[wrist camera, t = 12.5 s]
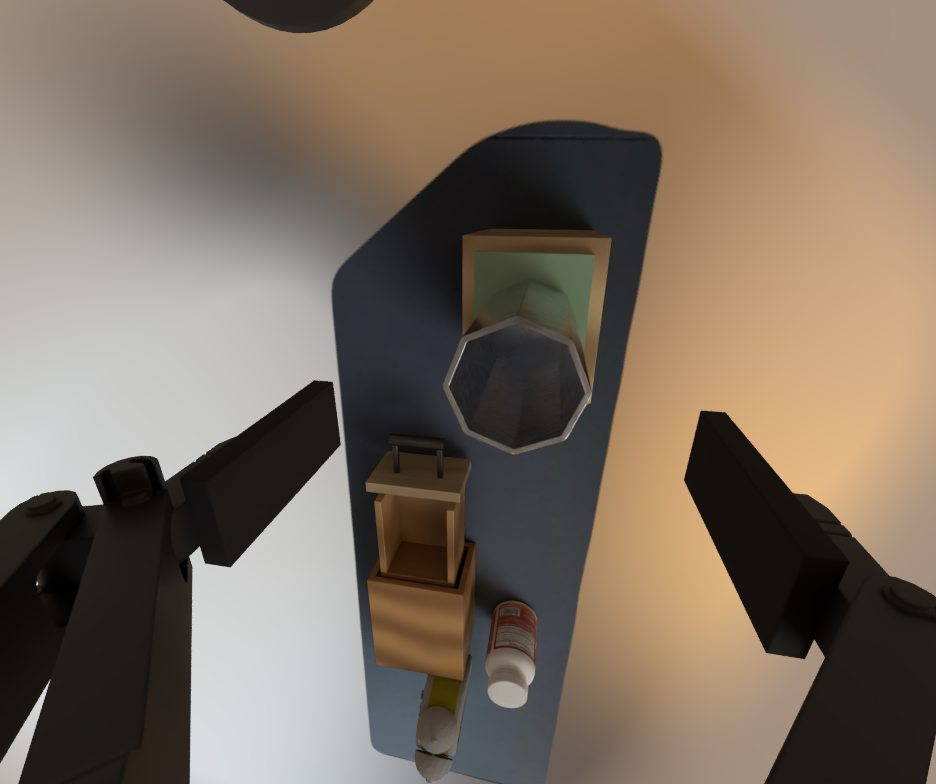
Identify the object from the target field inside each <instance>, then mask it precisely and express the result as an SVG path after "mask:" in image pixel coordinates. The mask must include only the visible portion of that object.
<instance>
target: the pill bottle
mask: <svg viewBox="0 0 936 784" xmlns="http://www.w3.org/2000/svg"><path fill="white" fill-rule="evenodd" d="M536 634H537V618H536V615H535V613H534V611H533V610H532V609H531V608H530V607H529V606H528V605H526V604H524V603H522V602H518V601H505V602H502V603H500V604H499V605H498V606H497V607H496V608H495V609H494V612H493V616H492V623H491V630H490V636H489V643H488V649H487V656H486V664H485V667H486V672H487V675H488V677H489V681H488V695H489V697H490V699H491V700H492V701H493V702H495V703H496V704H498V705H500V706H502V707H506V708H517V707H520V706H522V705H524V704H525V702H526V701H527V695H528V685H529V684H530V683H531V682H532V680H533V678H534V675H535V660H536Z"/></svg>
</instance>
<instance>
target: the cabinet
mask: <svg viewBox="0 0 936 784" xmlns="http://www.w3.org/2000/svg"><path fill="white" fill-rule="evenodd" d="M475 561H476V543H471V542H464V553H463V557H462V561H461V564H460V568H459V572H458V576H457V579H456V583H455V587H454V588H451V587H445V586H439V585H432V584H426V583H419V582H413V581H406V580H400V579H394V578H387V577H381V569H380V558H378V560H377V562H376V564H375V566H374V568H373V570H372V572H371V574H370V576H369V578H368V580H367V583H368V593H369V602H370V611H371V620H372V629H373V639H374V648H375V657H376V664H378V665H383V666H388V667H394V668H399V669H404V670H409V671H414V672H420V673H425V674H430V675H435V676H441V677H446V678H451V679H456V680H462V681H463V678H464V673H465V668H466V663H467V658H468V653H469V647H470V642H471V637H472V632H473V627H474V615H475Z"/></svg>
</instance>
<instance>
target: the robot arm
mask: <svg viewBox="0 0 936 784" xmlns="http://www.w3.org/2000/svg"><path fill="white" fill-rule="evenodd" d="M340 445H341V443H340V435H339V427H338V420H337V412H336V403H335V396H334V388H333V382H328V381H315V380H314V381H313V382H311V383H310V384H309V385H307V386H306V387H305V388H303V389H302V390H300V391H299V392H298V393H296V394H295V395H293V396H292V397H291V398H289V399H288V400H286V401H285V402H284V403H282V404H281V405H280V406H278V407H277V408H275V409H274V410H273V411H271V412H270V413H268V414H267V415H266V416H264V417H263V418H261V419H260V420H259V421H258V422H256V423H255V424H253V425H252V426H250V427H249V428H248V429H246V430H245V431H243V432H242V433H241V434H239V435H238V436H237V437H234V438H231V439H229V440H227V441H224V442H222V443H219V444H218V445H216V446H215V447H214V448H212V449H211V450H209V451H208V452H207V453H206V455H202V456H201V457H199V458H198V459H197V460H196V462H192V463H191V464H189V465H188V466H187V467H185V468H184V469H182V470H181V471H180V472H178V473H177V474H175V475H174V476H172V477H171V478H170V479H168V480H167V481H165V480H164V477H163V474H162V471H161V467H160V464H159V462H158V459H157V458H155V457H151V456H137V457H130V458H127V459H123V460H120V461H117V462H114V463H112V464H110V465H107V466H106V467H104V468H103V469H101V470H99V471H98V472H97V473H96V474H95V476H94V477H93V479H94V481H95V483H96V486H97V489H98V491H99V494H100V496H101V498H102V501H103V504H104V505H93V506H82V505H81V502H80V500H79V498H78V496H77V494H76V492H73V491H68V490H65V491H55V492H50V493H49V492H47V493H43V494H40V495H39V496H38V495H37V496H34V497H32V498H30V499H29V500H27V501H25V502H23V503H21V504H19V505H18V506H16V507H15V508H14V509H12V510H11V511H10V512H8V513H7V515H5V516H4V517H3V518H2V519H1V520H0V763H1V761H2V760H3V758H4V756H5V754H6V753H7V751H8V749H9V748H10V746H11V744H12V742H13V741H14V739H15V738H16V736H17V734H18V733H19V731H20V729H21V728H22V726H23V724H24V722H25V721H26V719H27V717H28V716H29V714H30V712H31V711H32V709H33V707H34V706H35V704H36V702H37V701H38V698H39V697H40V695H41V694H42V692H43V690H44V689H45V687H46V685H47V684H48V682H49V680H50V679H51V680H50V683H49V686H48V689H47V693H46V696H45V699H44V703H43V706H42V709H41V712H40V716H39V719H38V722H37V725H36V729H35V732H34V735H33V738H32V741H31V745H30V748H29V751H28V754H27V758H26V761H25V764H24V767H23V770H22V774H21V777H20V780H19V783H18V784H190V714H191V712H190V711H191V636H192V630H191V629H192V564H191V561H190V558H189V556H190V555H191V554H192V553H193V552H194V551H195V550H196V549H197V548H198V547H200V548H201V551H202V555H203V558H204V561H205V563H206V564H212V565H219V566H225V567H231V566H232V565H233V564H234V563H235V561H237V559H238V558H239V557H240V556H241V555H242V554H243V553H244V552H245V551H246V549H247V548H248V547H249V546H250V545H251V544H252V543H253V542H254V541H255V539H256V538H257V537H258V536H259V535H260V534H261V533H262V532H263V530H264V529H265V528H266V527H267V526H268V525H269V524H270V523H271V522H272V521H273V519H274V518H275V517H276V516H277V515H278V514H279V513H280V512H281V511H282V509H283V508H284V507H285V506H286V505H287V504H288V503H289V502H290V501H291V499H292V498H293V497H294V496H295V495H296V494H297V493H298V492H299V491H300V489H301V488H302V487H303V486H304V485H305V484H306V483H307V481H309V479H310V478H311V477H312V476H313V475H314V474H315V473H316V472H317V471H318V469H319V468H320V467H321V466H322V465H323V464H324V463H325V462H326V461H327V459H328V458H329V457H330V456H331V455H332V454H333V453H334V451H335V450H336V449H337V448H338V447H339V446H340ZM684 481H685V483H686V485H687V487H688V490H689V492H690V494H691V496H692V498H693V500H694V502H695V504H696V506H697V509H698V511H699V513H700V515H701V517H702V519H703V521H704V523H705V525H706V528H707V529H708V532H709V534H710V536H711V538H712V540H713V542H714V544H715V546H716V549H717V551H718V553H719V555H720V557H721V559H722V561H723V563H724V565H725V567H726V570H727V572H728V573H729V576H730V578H731V580H732V582H733V584H734V586H735V588H736V591H737V593H738V595H739V597H740V599H741V601H742V603H743V605H744V607H745V610H746V612H747V614H748V616H749V618H750V620H751V622H752V624H753V626H754V629H755V631H756V632H757V635H758V637H759V639H760V641H761V643H762V645H763V648H764V650H765V652H766V653H770V654H776V655H782V656H788V657H795V658H801V659H805V658H806V656H807V654H808V651H809V649H810V647H811V645H812V643H813V641H814V640H815V641H816V643H817V645H818V646H819V648H820V650H821V651H822V653H823V654H824V656H825V659H824V661H823V663H822V665H821V667H820V669H819V671H818V673H817V676H816V678H815V679H814V682H813V684H812V686H811V688H810V690H809V692H808V694H807V696H806V698H805V701H804V702H803V705H802V707H801V709H800V711H799V713H798V715H797V717H796V719H795V721H794V723H793V725H792V727H791V729H790V731H789V733H788V736H787V738H786V740H785V742H784V744H783V746H782V748H781V750H780V752H779V754H778V756H777V758H776V760H775V762H774V764H773V767H772V769H771V771H770V773H769V775H768V777H767V779H766V781H765V783H764V784H926V781H927V776H928V770H929V766H930V761H931V756H932V750H933V746H934V740H935V736H936V597H935V596H934V595H932V594H931V593H929V592H927V591H926V590H924V589H922V588H920V587H918V586H916V585H915V584H912V583H910V582H907V581H904V580H901V579H899V578H896V577H891V576H889V575H888V574H887V573H886V572H885V571H884V569H883V568H882V567H881V566H880V565H879V564H878V563H877V562H876V561H875V560H874V558H873V557H872V556H871V555H870V554H869V553H868V552H867V551H866V550H865V549H864V547H863V546H862V545H861V544H860V543H859V542H858V541H857V540H856V539H855V538H854V537H852V535H851V533H850V532H849V531H848V530H847V529H846V528H845V527H844V526H843V525H841V522H840V521H839V520H838V519H837V518H836V517H835V516H834V514H833V513H832V512H831V511H830V510H829V509H828V508H827V507H825V506H824V505H822V504H821V503H819V502H818V501H816V500H815V499H813V498H812V497H810V496H809V495H804V494H795V493H792V492H791V490H790V489H789V488H788V487H787V485H786V484H785V483H784V482H783V481H782V479H781V478H780V477H779V476H778V475H777V474H776V472H775V471H774V470H773V469H772V467H771V466H770V465H769V464H768V463H767V462H766V460H765V459H764V458H763V457H762V456H761V454H760V453H759V452H758V451H757V450H756V448H755V447H754V446H753V445H752V444H751V442H750V441H749V440H748V439H747V438H746V437H745V435H744V434H743V433H742V432H741V430H740V429H739V428H738V427H737V426H736V424H735V423H734V422H733V421H732V420H731V418H730V417H729V416H728V415H727V414H726V413H725V412H712V411H701V412H700V416H699V420H698V424H697V429H696V432H695V437H694V441H693V445H692V449H691V453H690V457H689V462H688V466H687V470H686V474H685V478H684ZM37 582H38V585H37V586H36V583H37Z"/></svg>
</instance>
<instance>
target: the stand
mask: <svg viewBox="0 0 936 784" xmlns="http://www.w3.org/2000/svg"><path fill="white" fill-rule="evenodd" d="M610 247H611V238H610V237H608V236H606V235H604V234H601V233H599V232H597V231H595V230H545V229H486V230H482V231H478V232H474V233H470V234H466V235H463V328H462V337H463V335H464V334H465V333H466V331H467V330H468V329H469V327H470V326H471V324H472V323H473V322H474V272H475V252H476V251H510V252H552V253H593V254H595V261H594V269H593V278H592V286H591V295H590V304H589V312H588V321H587V330H586V338H585V347H584V356H585V361H586V366H587V371H588V376H589V381H590V386H591V390H592V388H593V380H594V372H595V364H596V356H597V349H598V341H599V333H600V325H601V317H602V310H603V302H604V294H605V286H606V278H607V270H608V263H609V255H610ZM590 403H591V397H590V399H589V401H588V402H587V404H590Z"/></svg>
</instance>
